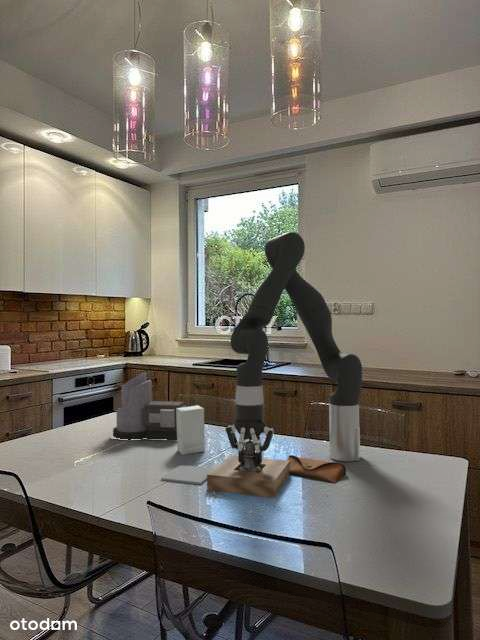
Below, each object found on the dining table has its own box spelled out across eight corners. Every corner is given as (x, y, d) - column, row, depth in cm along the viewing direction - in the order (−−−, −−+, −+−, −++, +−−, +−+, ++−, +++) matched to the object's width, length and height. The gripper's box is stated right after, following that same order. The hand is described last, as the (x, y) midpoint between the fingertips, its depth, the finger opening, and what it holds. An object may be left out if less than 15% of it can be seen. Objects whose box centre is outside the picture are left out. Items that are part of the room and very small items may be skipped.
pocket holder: (290, 474, 131) (289, 460, 131) (274, 497, 114) (273, 481, 114) (230, 468, 137) (230, 455, 137) (206, 489, 120) (206, 474, 120)
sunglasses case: (276, 473, 132) (281, 450, 135) (285, 479, 138) (289, 457, 141) (337, 483, 123) (341, 459, 126) (344, 490, 129) (347, 466, 132)
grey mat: (217, 470, 135) (217, 468, 135) (201, 484, 124) (201, 482, 124) (180, 466, 139) (180, 464, 139) (161, 480, 128) (161, 477, 128)
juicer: (102, 440, 171) (101, 374, 171) (120, 430, 187) (119, 369, 187) (180, 443, 167) (180, 375, 167) (191, 432, 183) (191, 370, 183)
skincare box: (199, 447, 160) (198, 404, 160) (205, 452, 155) (205, 407, 155) (176, 450, 156) (175, 407, 156) (181, 455, 151) (181, 410, 151)
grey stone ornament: (259, 486, 122) (258, 441, 122) (237, 485, 123) (237, 440, 123) (262, 478, 128) (262, 435, 128) (241, 477, 129) (241, 434, 129)
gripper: (278, 400, 127) (278, 463, 127) (229, 398, 131) (230, 458, 131) (271, 405, 120) (271, 471, 120) (220, 402, 124) (220, 466, 124)
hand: (250, 464), depth 126 cm, fingers closed on grey stone ornament, 3 cm apart
